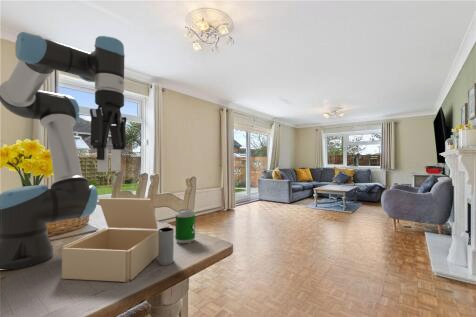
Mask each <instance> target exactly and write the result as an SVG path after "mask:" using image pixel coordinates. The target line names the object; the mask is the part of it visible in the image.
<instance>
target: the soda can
mask: <svg viewBox="0 0 476 317" xmlns="http://www.w3.org/2000/svg"><path fill="white" fill-rule="evenodd" d="M195 238H196V213H195V211H194V210H193V209H188V208H187V209H180V210H177V212H176V213H175V241H176V242H177V243H178V242H179V243H178V244H180V243H188V242H191V241H192V242H193V241H194V240H195ZM192 242H191V243H192ZM188 244H189V243H188Z"/></svg>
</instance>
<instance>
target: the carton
mask: <svg viewBox="0 0 476 317" xmlns="http://www.w3.org/2000/svg"><path fill="white" fill-rule="evenodd" d="M158 231H159V229H140V228H108V227H107V228H106V227H104V228H102V229H100V230H97V231H94V232H93V233H90V234H88V235H86V236H84V237H81V238H79V239H77V240H75V241H72V242H70V243H67V244H65V245H63V246H61V279H63V280H64V279H65V280H66V279H68V280H84V281H85V280H86V281H105V282H106V281H107V282H121V283H122V282H124V283H125V282H127V283H128V282H130V281H132V280H133V279H135V277H137V276H139V274H140V273H141V272H142V271H143V270H144V269H145V268H146V267H147V266H148V265H149V264H150V263H151V262H153V261H154V260H155V259H156V258H157V257H158Z"/></svg>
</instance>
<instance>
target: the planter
mask: <svg viewBox="0 0 476 317" xmlns="http://www.w3.org/2000/svg"><path fill="white" fill-rule="evenodd" d="M158 230H159V231H158V256H157V257H158V265H160V266H168V265H171V264H173V262H174V249H175V248H174V241H175V240H174V236H175V235H174V234H175V233H174V231H175V228H173V227H169V226H168V227H161V228H159V229H158Z"/></svg>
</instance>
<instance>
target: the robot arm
mask: <svg viewBox="0 0 476 317" xmlns="http://www.w3.org/2000/svg"><path fill="white" fill-rule="evenodd" d="M14 49H15V56H16V58H17V59H18V61H17V63H16V65H15V68H14V69H13V71H12V73H11V74H10V76H9V79H7V80H6V81H4V82H2V83H1V84H0V103H1V105H2V106H3V107H4V108H5V109H6V110H8V111H9V112H10V113H12V114H14V115H15V116H18V117H21V118H25V119H31V120H39V122H40V125H41V126H42V127H43V128H44V129H46V133H47V142H48V145H49V146H48V147H49V152H50V158H51V164H52V165H51V166H52V171H53V172H52V173H53V177H54V181H53V182H52V183H51V184H50V188H49V187H48V185H46V184H38V185H37V184H35V185H27V186H22V187H17V188H12V189H8V190H4V191H3V192H1V193H0V269H13V270H17V269H22V268H23V269H24V268H26V267H30V266H34V265H37V264H40V263H42V262H45V261H48V260H49V259H50V258H52V257H53V256H54V245H53V244H52V242H51V239H50V236H49V234H48V224H52V223H56V222H62V221H68V220H73V219H74V220H76V219H81V218H85V217H88V216H91V215H92V214H93V213H94V212H95V210H96V208H97V205H98V201H99V197H98V196H99V195H98V194H99V193H98V189H97V187H96V186H95V185H94V184H89V179H88V178H86V177H84V176H83V172H82V167H81V162H80V158H79V152H78V148H77V144H76V137H75V134H74V133H75V132H74V129H73V127H75V125H76V123H78V121H79V119H80V106H79V103H78V102H77V100H76V99H75V97H72V96H71V95H67V94H65V93H55V92H50V91H45V90H42V89H41V88H42V87H43V85H44V84H45V82H46V81H47V80H48V79H49V77H50V76H51V75H52V74H53V72H54V71H59V72H64V73H67V74H71V75H74V76H75V75H76V76H78V77H80V78H81V79H82V80H83V81H85V82H88V83H94V89H95V92H94V103H95V104H96V105H97V108H90V109H89V114H90V115H89V116H90V145H91V146H92V148H93V149H96V160H97V162H96V163H97V166H96V167H97V168H96V169H97V173H102V172H103V173H109V148H107V144H108V140H109V139H108V138H109V134H110V139H111V144H112V149H110V171H111V172H121V171H122V150H123V151H124V150H125V149H126V147H127V146H126V145H127V138H126V137H127V135H126V134H127V132H126V131H127V130H126V124H127V117H126V116H123V115H122V112H121V109H122V108H123V107H124V106H125V95H124V94H123V93H124V92H125V57H126V54H125V46H124V43H123V42H122V41H121V40H120V39H119V38H116V37H114V36H110V35H98V36H97V37H95V41H94V50H93V51H91V52H88V51H86V50H85V51H84V50H82V49H78V48H76V47H73V46H69V45H66V44H63V43H60V42H57V41H54V40H52V39H49V38H45V37H44V36H41V35H36V34H34V33H29V32H26V31H21V32H19V33H18V34H17V36H16V40H15V46H14ZM40 89H41V90H40Z"/></svg>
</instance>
